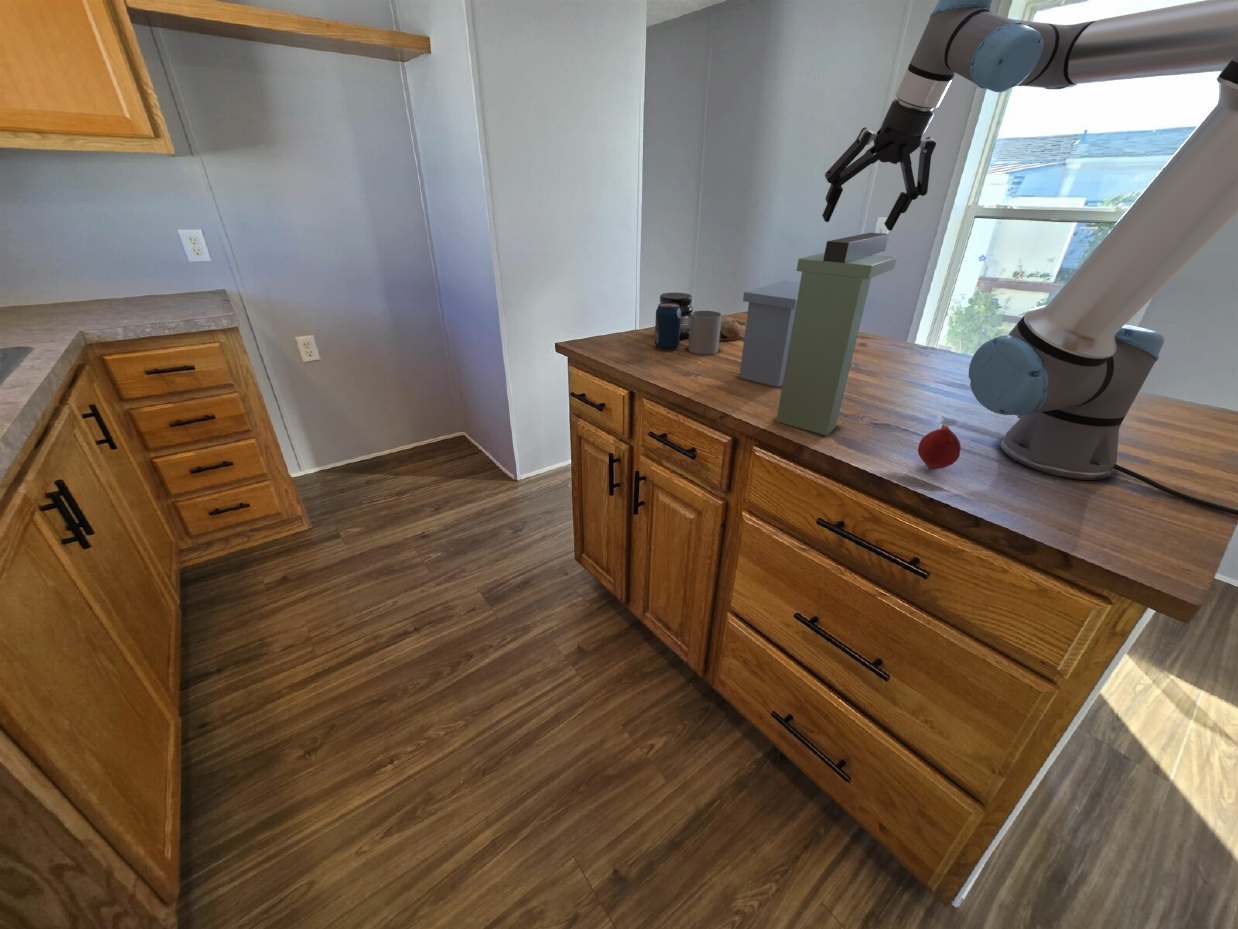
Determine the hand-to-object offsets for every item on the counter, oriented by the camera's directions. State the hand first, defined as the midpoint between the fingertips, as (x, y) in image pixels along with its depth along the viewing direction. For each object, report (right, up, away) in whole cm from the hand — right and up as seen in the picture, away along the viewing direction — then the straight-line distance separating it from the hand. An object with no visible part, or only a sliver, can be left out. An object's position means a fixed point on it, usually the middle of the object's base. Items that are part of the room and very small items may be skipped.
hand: (856, 223), depth 105 cm
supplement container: (-33, -11, +50) cm, 61 cm away
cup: (-26, -18, +37) cm, 49 cm away
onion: (+2, -51, -22) cm, 56 cm away
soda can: (-36, -17, +39) cm, 56 cm away
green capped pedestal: (-10, -41, -3) cm, 42 cm away
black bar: (-7, -13, -15) cm, 22 cm away
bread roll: (-18, -11, +49) cm, 54 cm away
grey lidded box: (-11, -28, +20) cm, 36 cm away
